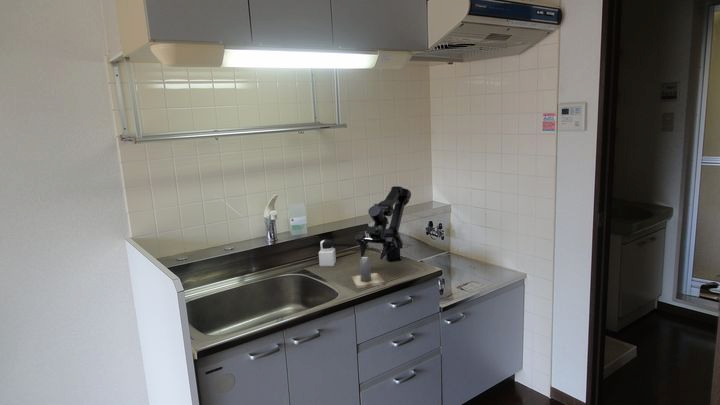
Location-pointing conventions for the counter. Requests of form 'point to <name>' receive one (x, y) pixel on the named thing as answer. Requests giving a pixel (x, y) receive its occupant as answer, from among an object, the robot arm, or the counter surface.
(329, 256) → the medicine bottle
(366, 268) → the white-capped grey cylinder
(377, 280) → the birch board
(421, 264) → the counter surface
